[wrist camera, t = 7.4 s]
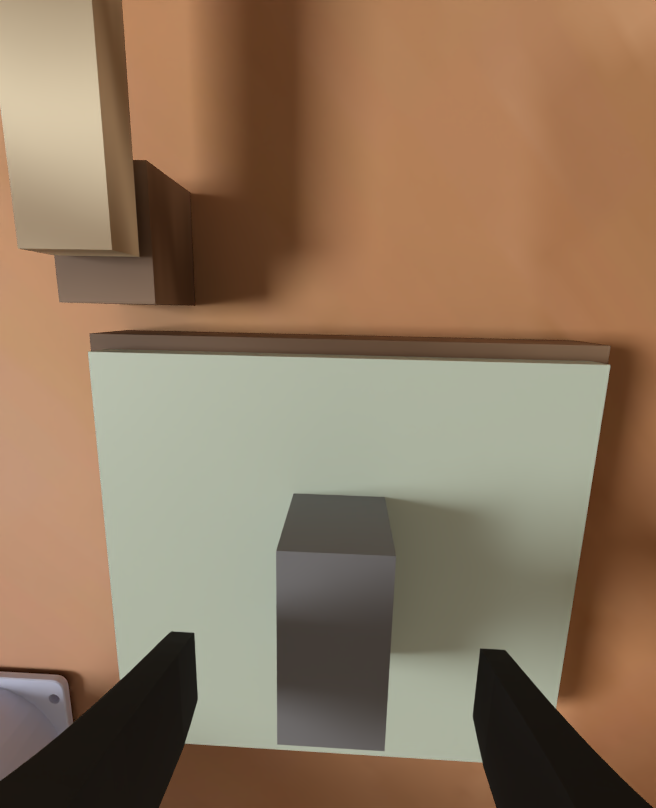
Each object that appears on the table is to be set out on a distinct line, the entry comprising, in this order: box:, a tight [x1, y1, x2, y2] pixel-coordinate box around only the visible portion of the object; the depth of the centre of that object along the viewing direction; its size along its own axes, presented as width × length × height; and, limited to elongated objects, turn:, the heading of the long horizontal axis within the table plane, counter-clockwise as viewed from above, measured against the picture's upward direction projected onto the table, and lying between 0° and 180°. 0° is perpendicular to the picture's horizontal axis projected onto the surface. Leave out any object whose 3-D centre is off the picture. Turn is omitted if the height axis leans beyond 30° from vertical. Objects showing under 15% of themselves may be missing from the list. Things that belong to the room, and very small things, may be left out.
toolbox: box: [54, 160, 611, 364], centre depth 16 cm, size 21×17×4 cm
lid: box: [88, 349, 610, 763], centre depth 14 cm, size 15×16×4 cm
